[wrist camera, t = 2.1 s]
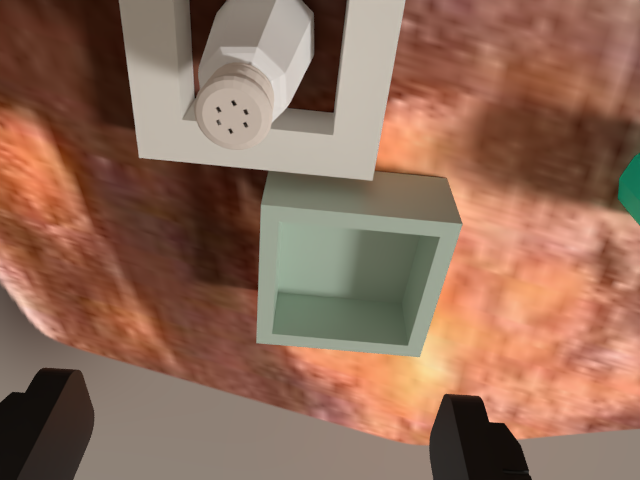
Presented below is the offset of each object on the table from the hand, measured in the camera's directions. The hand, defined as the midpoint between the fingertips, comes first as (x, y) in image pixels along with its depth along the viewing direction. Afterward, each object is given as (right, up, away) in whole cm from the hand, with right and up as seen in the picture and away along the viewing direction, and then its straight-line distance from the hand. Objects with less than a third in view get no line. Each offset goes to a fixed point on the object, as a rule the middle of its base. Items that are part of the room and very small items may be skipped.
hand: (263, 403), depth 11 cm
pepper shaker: (-2, +15, +16) cm, 22 cm away
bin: (+3, +4, +23) cm, 24 cm away
